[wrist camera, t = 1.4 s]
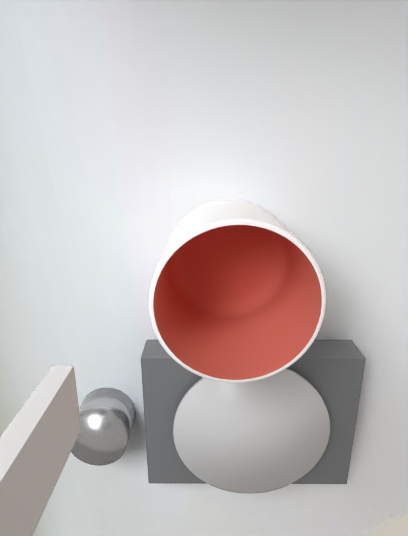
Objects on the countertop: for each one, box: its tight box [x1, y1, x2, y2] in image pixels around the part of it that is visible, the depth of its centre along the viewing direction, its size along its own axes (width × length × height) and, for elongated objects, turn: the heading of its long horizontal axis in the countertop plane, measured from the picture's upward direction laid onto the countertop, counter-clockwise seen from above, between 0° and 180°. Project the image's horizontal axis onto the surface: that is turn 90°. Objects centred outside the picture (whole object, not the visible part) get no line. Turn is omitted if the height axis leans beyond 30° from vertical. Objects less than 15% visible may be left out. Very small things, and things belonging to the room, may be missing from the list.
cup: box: [148, 199, 326, 383], centre depth 25 cm, size 10×10×10 cm
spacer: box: [71, 388, 135, 465], centre depth 33 cm, size 5×5×4 cm
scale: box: [141, 340, 365, 493], centre depth 32 cm, size 13×18×4 cm
